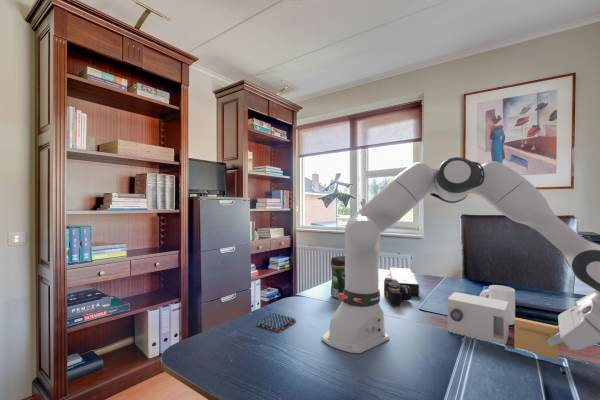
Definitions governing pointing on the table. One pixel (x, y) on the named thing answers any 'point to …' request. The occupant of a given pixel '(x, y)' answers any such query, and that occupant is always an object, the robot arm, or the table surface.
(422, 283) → the table surface
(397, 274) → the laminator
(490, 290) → the mug
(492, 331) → the housing
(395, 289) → the camera
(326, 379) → the table surface
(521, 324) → the side door
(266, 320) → the woven mat
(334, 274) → the coffee jar
